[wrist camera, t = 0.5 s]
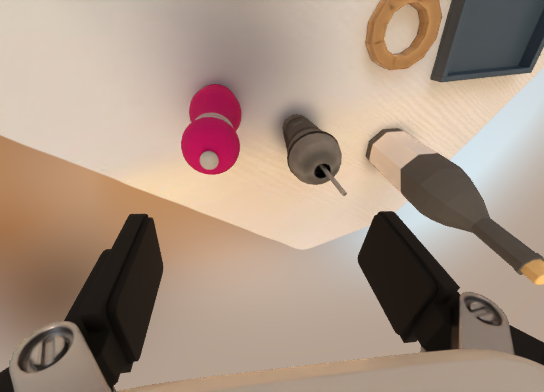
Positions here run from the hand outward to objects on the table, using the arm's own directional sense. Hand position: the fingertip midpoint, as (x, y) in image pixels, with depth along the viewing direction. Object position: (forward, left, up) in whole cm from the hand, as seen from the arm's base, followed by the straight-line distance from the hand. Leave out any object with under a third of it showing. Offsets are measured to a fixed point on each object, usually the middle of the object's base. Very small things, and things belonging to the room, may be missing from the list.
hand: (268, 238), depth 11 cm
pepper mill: (+1, -5, -34) cm, 34 cm away
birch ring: (+6, +24, -34) cm, 41 cm away
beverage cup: (+11, +4, -34) cm, 36 cm away
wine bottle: (+24, +17, -34) cm, 45 cm away
